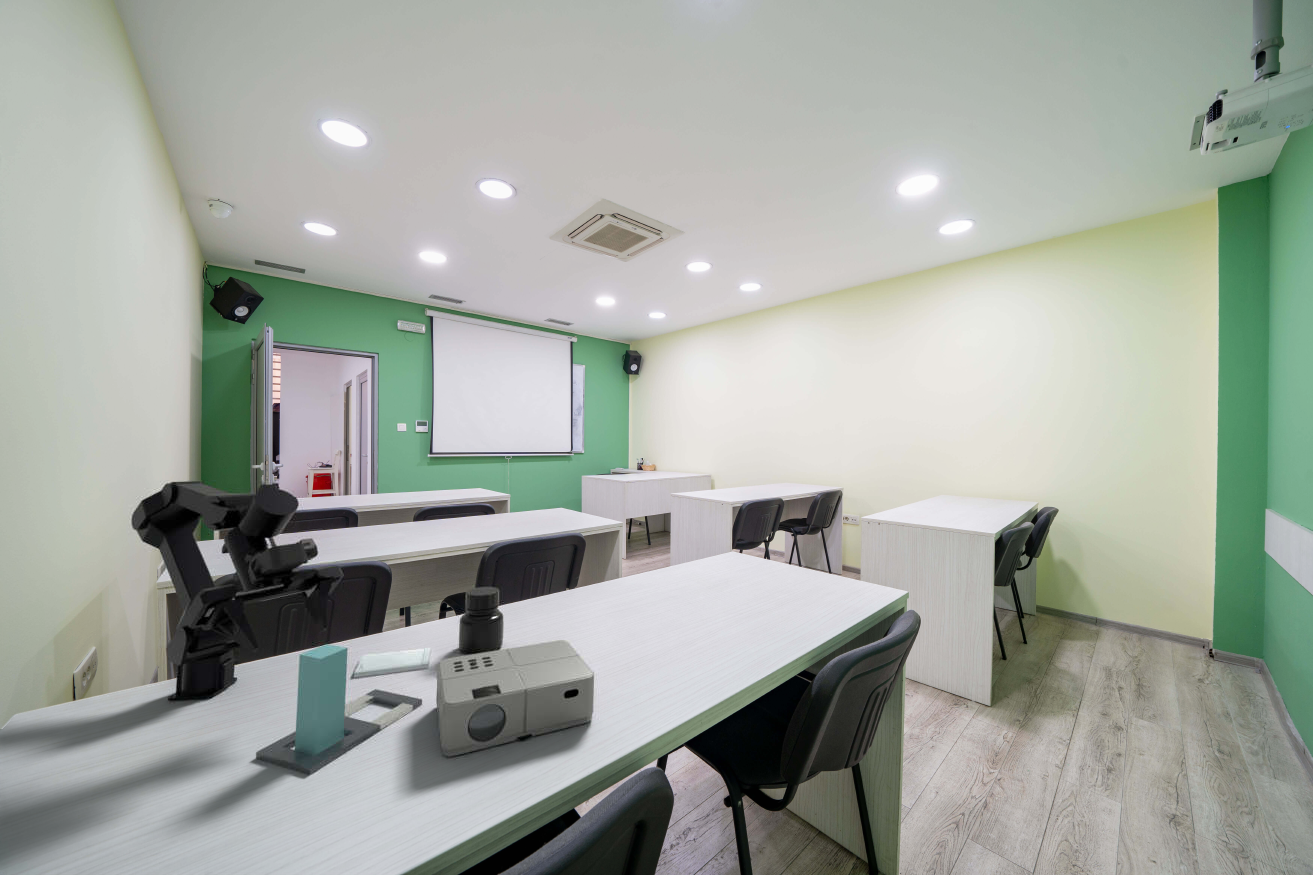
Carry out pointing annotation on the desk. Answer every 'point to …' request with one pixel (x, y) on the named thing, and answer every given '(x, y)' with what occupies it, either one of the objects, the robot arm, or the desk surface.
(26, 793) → the desk surface
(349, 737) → the panel
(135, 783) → the desk surface
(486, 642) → the ink bottle
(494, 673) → the projector
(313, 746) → the plug
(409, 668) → the hard drive
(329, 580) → the robot arm
